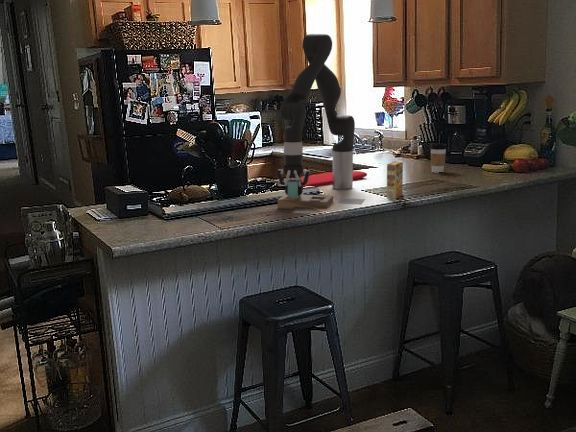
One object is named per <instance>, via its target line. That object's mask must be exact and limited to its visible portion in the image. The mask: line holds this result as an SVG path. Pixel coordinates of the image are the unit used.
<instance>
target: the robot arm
mask: <svg viewBox="0 0 576 432" xmlns="http://www.w3.org/2000/svg"><path fill="white" fill-rule="evenodd" d="M332 49H333V40H332V37H331V36H330V35H329V34H326V33H309V34H306V35H304V37H303V39H302V51H303V53H304V56H305V58H306V60H307V62H308V65H307V66H306V67H305V68H304V69H303V70H302V71H301V72H299V74H298V75H297V77H296V79H295V81H294V83H293V86H292V88H291V91H290V92H289V94H288V95H286V97H285V98H284V100H283V101H282V103H281V105H280V107H279V116H280V118H281V119H283V120H285V121H293V123H292V125H290V126H287V127H285V128H284V130H283V131H284V132H283V136H284V137H283V140H284V141H283V142H284V144H283V168H281V169H280V168H279V169H277V170H276V175H277V177H278V181H279V183H280V185H284V193H285V194H286V195H288V181H290V179H291V178H296V180H297V182H298V185H299V186H298V195H301V194H302V195H303V192H304V191H303V185H306V184H307V182H308V178H309V175H311V170H310V169H308V170H307V169H305V168H304V166H303V165H304V163H303V162H304V161H303V159H304V158H303V157H304V155H303V154H304V152H303V129H304V124H305V120H306V116H307V108H306V106H305V104H304V103H303V102H305V101H307V100H308V98H309V95H310V93H311V91H312V87H313V85H314V82H315V84H316V87H317V90H318V93H319V96H320V99H321V102H322V104H323V108H324V111H325V117H326V121H327V125H328V129H329V132H330V133H331V134H332V135H333V136H338V137H339V136H340V137H341V136H342V137H343V138H342V140H341V141H338V142H336V143H333V145H332V172H333V184H332V188H333V189H336V190H350V189H353V181H354V180H353V170H354V167H353V166H354V162H353V161H354V144H355V129H356V126H355V124H356V123H355V118H354V117H353V115H346V114H342V115H341V114H338V112H337V109H336V108H337V104H338V103H339V99H340V97H341V95H342V92H341V91H342V90H341V86H340V83H339V79H338V77H337V76H336V74H335V73H334V72H333V71H332V70H331V69H330V68H329V67H328V66H327V65H326V64H325V63H326V61H327V60H328V58H329V56H330V54H331V52H332ZM284 174H285V175H286V177H285V178H284ZM302 174H303V175H304V176H305V177H304V176H303V177H304V181H303V182H302V178H301V177H302V176H301V175H302Z"/></svg>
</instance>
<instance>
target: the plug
mask: <svg viewBox="0 0 576 432" xmlns="http://www.w3.org/2000/svg"><path fill="white" fill-rule="evenodd" d="M298 186H299V185H298V182H297V180H296V179H290V181H288V198H297V199H299V198H300V195H298Z"/></svg>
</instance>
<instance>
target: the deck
mask: <svg viewBox="0 0 576 432" xmlns="http://www.w3.org/2000/svg"><path fill="white" fill-rule="evenodd" d="M365 200H366V199H365V198H364V199H363V198H347V197H346V198H343V197H342V198H340V199H339V201H337V202H336V204H340V205H341V204H346V205H362V204H363V203H364V202H365Z"/></svg>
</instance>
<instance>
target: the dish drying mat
mask: <svg viewBox="0 0 576 432" xmlns="http://www.w3.org/2000/svg"><path fill="white" fill-rule="evenodd" d="M367 175H368V174H367V172H364V171H360V170H355V169H353V181H354V180H359V179H363V178H366V177H367ZM304 177H305V175H304V176H301V178H302V182H303V181H304ZM291 179H296V178H291ZM328 185H333V171H329V172H324V173H323V172H322V173H317V174H310V175H309V178H308V182H307V184H306V185H303V187H305V186H315V187H314V188H316V187H321V186H328Z"/></svg>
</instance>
